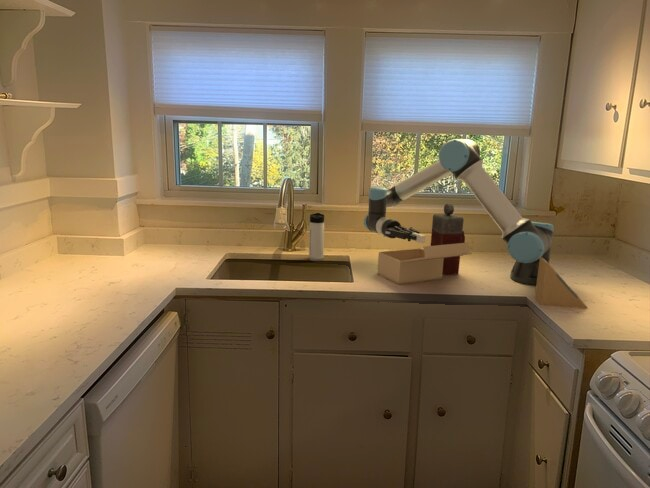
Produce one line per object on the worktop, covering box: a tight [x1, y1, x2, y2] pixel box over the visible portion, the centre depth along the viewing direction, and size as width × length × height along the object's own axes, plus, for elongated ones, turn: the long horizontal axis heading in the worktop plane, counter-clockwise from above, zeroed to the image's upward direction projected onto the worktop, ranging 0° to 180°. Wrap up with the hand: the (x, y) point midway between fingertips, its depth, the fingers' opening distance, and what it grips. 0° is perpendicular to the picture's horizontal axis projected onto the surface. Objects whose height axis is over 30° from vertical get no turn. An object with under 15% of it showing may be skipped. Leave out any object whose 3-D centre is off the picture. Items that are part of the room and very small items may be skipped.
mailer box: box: [376, 247, 444, 286], centre depth 193 cm, size 15×20×9 cm
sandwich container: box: [534, 257, 589, 309], centre depth 168 cm, size 9×15×15 cm, turn 81°
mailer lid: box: [400, 242, 472, 263], centre depth 179 cm, size 15×20×4 cm
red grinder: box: [430, 203, 466, 276], centre depth 199 cm, size 9×11×28 cm
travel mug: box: [308, 212, 325, 262], centre depth 213 cm, size 6×7×20 cm
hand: (423, 239), depth 184 cm, fingers closed
